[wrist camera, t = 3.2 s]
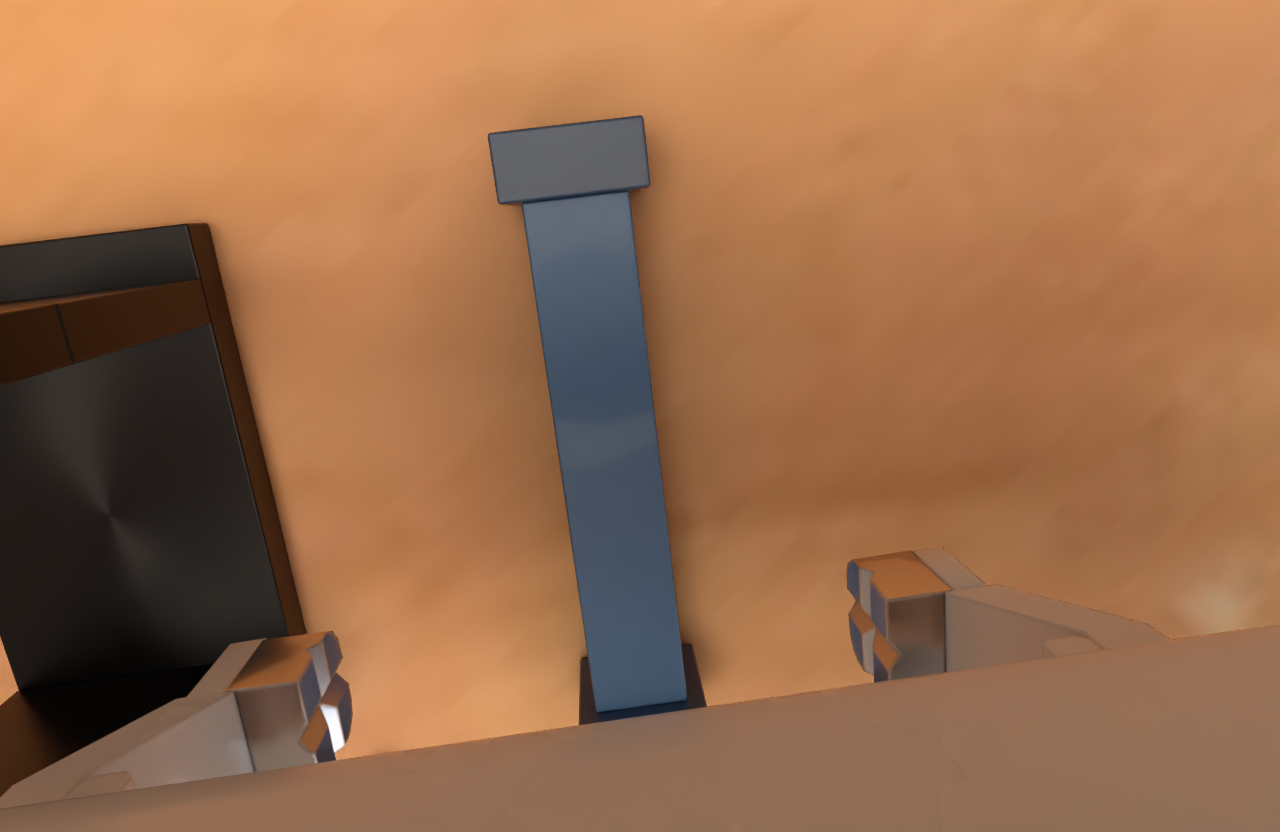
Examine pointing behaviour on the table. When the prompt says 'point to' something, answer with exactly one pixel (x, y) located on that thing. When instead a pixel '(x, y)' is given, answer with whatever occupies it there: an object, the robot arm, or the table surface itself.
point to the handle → (602, 405)
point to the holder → (124, 488)
